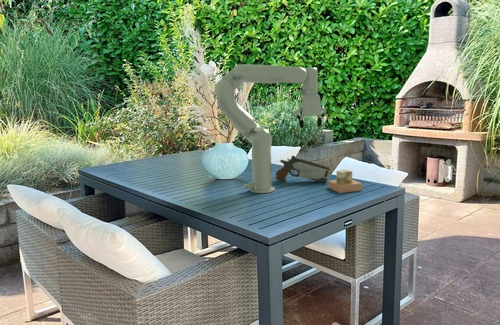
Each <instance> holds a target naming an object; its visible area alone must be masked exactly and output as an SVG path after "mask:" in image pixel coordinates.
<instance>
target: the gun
mask: <svg viewBox="0 0 500 325" xmlns="http://www.w3.org/2000/svg"><path fill="white" fill-rule="evenodd" d="M279 162H280V163H281V164H283V167H281V168H279V169H278V170H277V171H276V173H275V175H274V180H276V181H280V182H282V183H285V182H287V180H288V179H287V176H288V174H290V176H292V177H296V178H298V177H299V178H304V179H306V180H312V181H315V182H319V183H321V184H322V183H324V182H327V181H329V180H328V179H329V177H330V176H329V175H330V173H331V168H330V167H329V166H326V165H323V164H320V163H316V162H312V161H309V160H307V159H303V158H299V157H297V156H296V155H291V158H287V160H285V159H280V160H279ZM295 171H296V172H297V173H295Z"/></svg>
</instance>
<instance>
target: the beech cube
mask: <svg viewBox="0 0 500 325" xmlns="http://www.w3.org/2000/svg"><path fill="white" fill-rule="evenodd" d="M336 180H337V182H340V183H342V184H343V183H351V182H352V180H353V171H352V170H348V169H340V170H339V169H337V170H336Z"/></svg>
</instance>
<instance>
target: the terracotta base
mask: <svg viewBox="0 0 500 325" xmlns="http://www.w3.org/2000/svg"><path fill="white" fill-rule="evenodd" d="M327 181H328V182H327V188H328V189H330V190H332V191H335V192H337V193H338V194H343V193H352V192H353V193H354V192H361V191H363V182H359V181H357V180H354V179H352V182H351V183H343V184H342V183H340V182H337V179H333V180H327Z"/></svg>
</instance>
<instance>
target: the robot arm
mask: <svg viewBox="0 0 500 325" xmlns="http://www.w3.org/2000/svg"><path fill="white" fill-rule="evenodd" d="M318 70H319V69H318V68H317V67H301V66H283V65H281V66H280V65H268V64H251V63H250V64H246V63H242V64H237V65H235V66H233V68H232V69H231V70H230V71H229V72H228V73H226V75H224V76H223V77H222V78H221V79H219V80H218V82H217V83H215V86H214V93H215V95H216V103H217V106H218V109H219V111H221V113H222V114H223V115H224V116H225V117H226V118H227V119H228V120H229V121H230V122H231V123H232V126H233V128H234V129H235V130H236V131H237V132H239V134H240V135H241V136H242V137H244V138H245V139H246V140H247V141H248V142H250V143H251V170H252V172H251V173H252V181H250V182H249V183H243V189H249V191H250V192H251V193H254V194H255V193H256V194H267V193H272V192H275V191H276V187H275V186H274V185H272V184H273V182H272V181H273V178H272V140H273V138H272V134H271V132H270V131H269V130H268V129H267V128H264V127H262V126H260V125H259V124H258V123H257V122H256V121H255V119H254V117H253V116H252V115H251V114H250V113H248V111H246V110H245V109H244V108H243V107H242V106H241V105H240V104H239V103H238V102H237V101H236V98H235V93H236V89H238V88H239V87H240V86H241V85H242V84H243V83H253V84H278V83H282V84H283V83H285V84H287V83H290V84H301V83H302V84H301V85H302V87H301V88H302V90H301V91H299V93H300V94H301V97H300V102H299V103H300V104H299V108H298V109H296V110H294V112H293V114H294V116H295V117H296V118H297V120H298V126H299V128H300V129H305V128H304V126H305V123H304V118H305V117H314V116H315V117H316V118H317V119H316V126H317V127H318V128H322V125H323V124H322V123H323V122H322V119H323V118H324V117H325V115H326V113H327V109H325V108H323V106H322V104H321V103H322V102H321V96H320V95H319V94H318V93H319V90H318V89H319V88H318V86H319V84H318V83H319V80H318V79H319V75H318V74H319V73H318ZM299 113H300V114H299Z"/></svg>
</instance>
